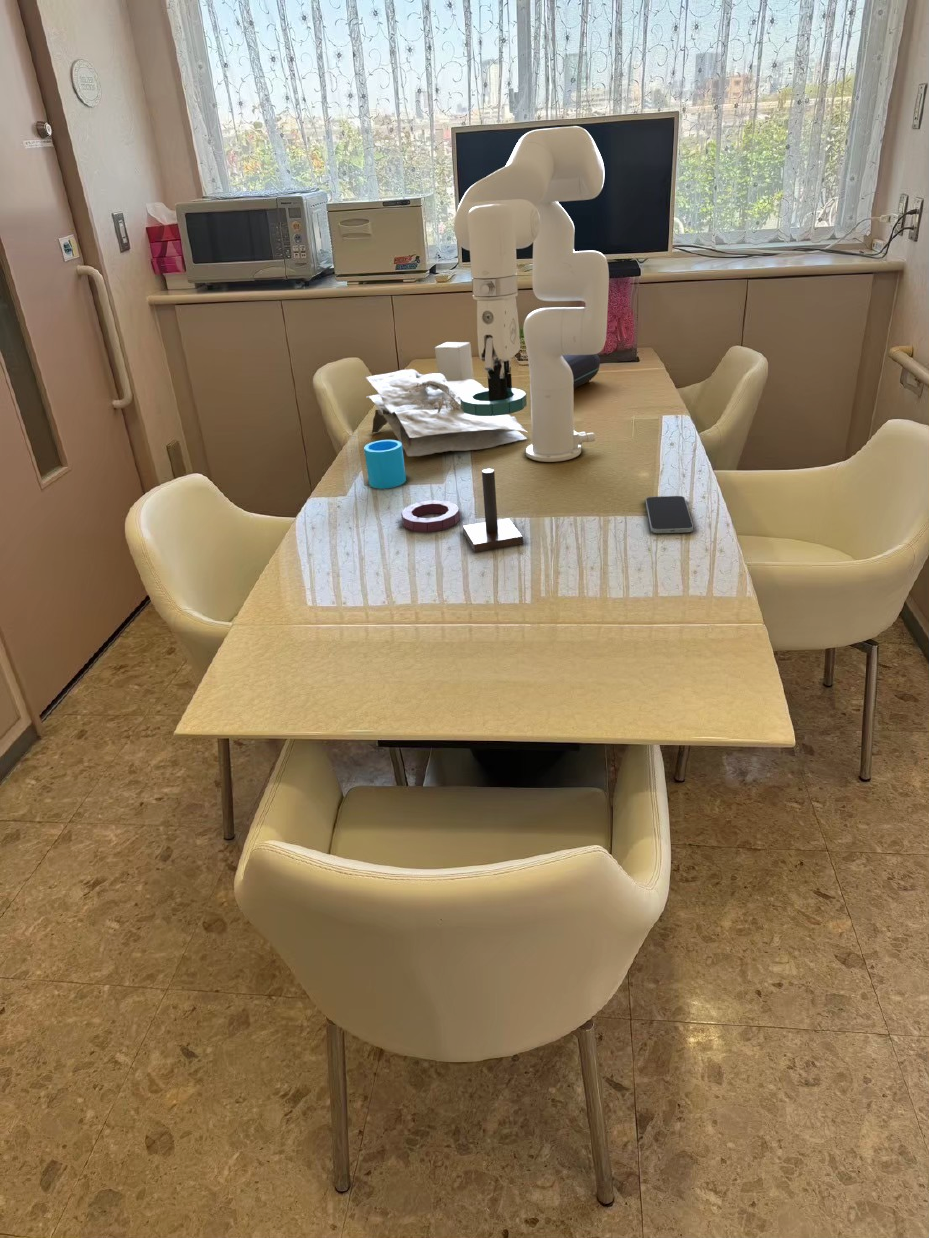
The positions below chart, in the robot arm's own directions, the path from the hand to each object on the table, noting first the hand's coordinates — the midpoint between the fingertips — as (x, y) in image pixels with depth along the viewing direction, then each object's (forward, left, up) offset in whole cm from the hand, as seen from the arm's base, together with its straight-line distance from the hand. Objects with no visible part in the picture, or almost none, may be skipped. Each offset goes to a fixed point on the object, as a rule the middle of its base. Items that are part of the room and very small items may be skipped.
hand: (500, 398), depth 146 cm
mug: (+18, -34, -24) cm, 45 cm away
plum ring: (+14, -7, -24) cm, 28 cm away
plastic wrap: (0, -60, -24) cm, 64 cm away
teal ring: (+2, +4, 0) cm, 4 cm away
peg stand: (+5, +6, -24) cm, 25 cm away
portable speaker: (-41, -85, -24) cm, 97 cm away
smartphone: (-28, +10, -24) cm, 38 cm away
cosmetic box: (-10, -90, -24) cm, 93 cm away
